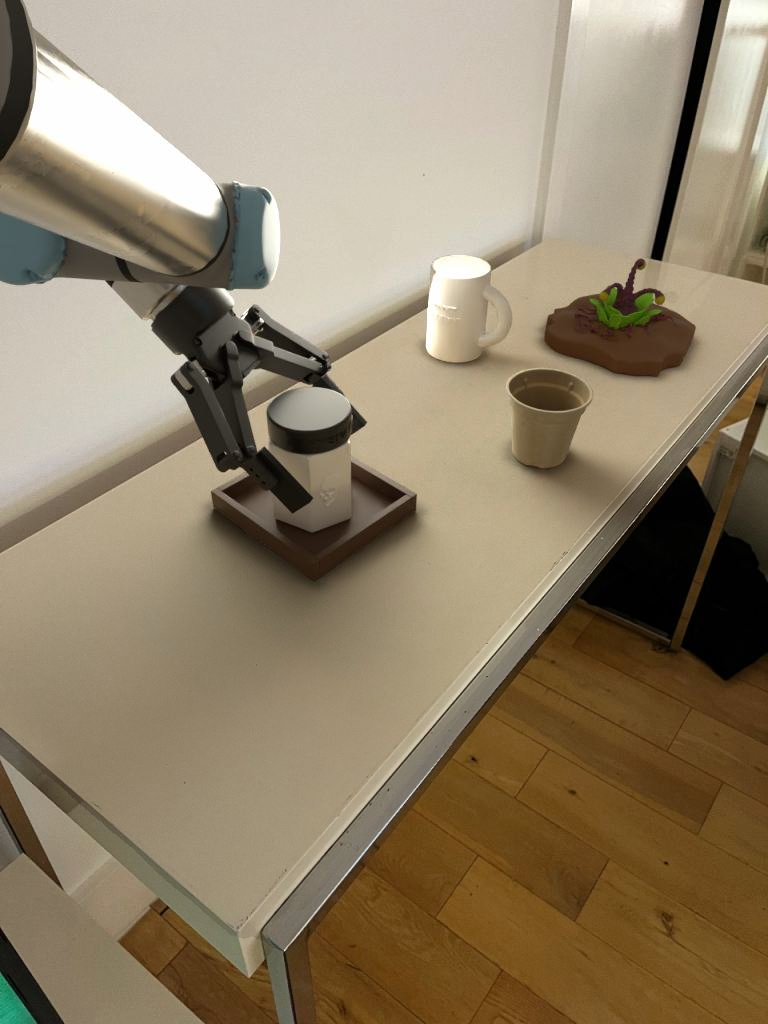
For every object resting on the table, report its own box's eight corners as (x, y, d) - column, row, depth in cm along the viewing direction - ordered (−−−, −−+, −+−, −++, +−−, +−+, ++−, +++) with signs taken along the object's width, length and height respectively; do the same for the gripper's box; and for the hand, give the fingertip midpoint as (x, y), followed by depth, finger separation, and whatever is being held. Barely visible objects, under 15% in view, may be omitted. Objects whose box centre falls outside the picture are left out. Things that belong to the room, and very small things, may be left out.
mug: (492, 377, 103) (503, 291, 96) (414, 353, 108) (418, 270, 100) (517, 352, 109) (529, 269, 101) (442, 330, 113) (448, 250, 106)
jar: (293, 543, 77) (285, 443, 69) (258, 498, 82) (248, 401, 74) (371, 513, 81) (371, 415, 73) (333, 472, 86) (330, 377, 78)
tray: (314, 581, 74) (313, 564, 72) (213, 508, 82) (210, 490, 80) (416, 511, 82) (417, 493, 80) (315, 450, 90) (314, 434, 88)
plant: (712, 336, 113) (735, 261, 106) (655, 388, 102) (677, 308, 94) (589, 297, 123) (603, 226, 116) (524, 341, 111) (535, 265, 104)
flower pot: (481, 455, 90) (488, 390, 84) (525, 421, 95) (535, 358, 90) (551, 488, 85) (564, 422, 79) (594, 451, 91) (609, 387, 85)
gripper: (222, 271, 83) (354, 418, 88) (73, 382, 65) (251, 558, 70) (263, 228, 78) (399, 387, 84) (114, 334, 60) (301, 528, 66)
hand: (332, 465), depth 77 cm, fingers open, 13 cm apart
